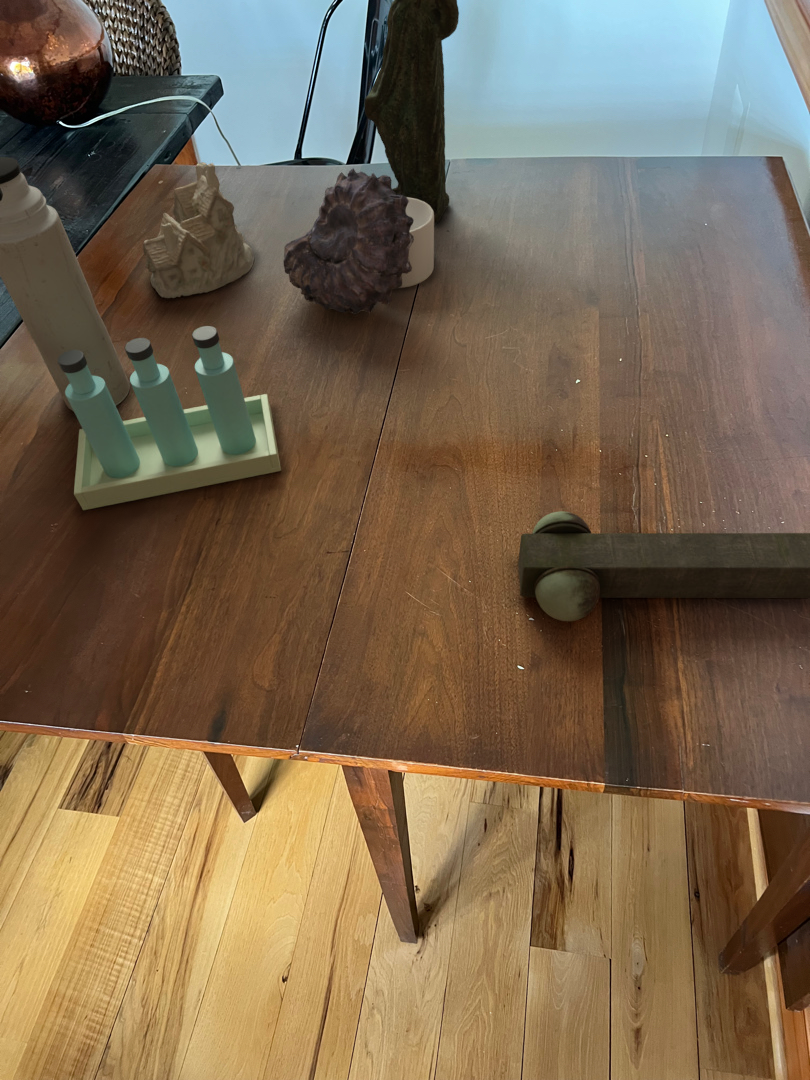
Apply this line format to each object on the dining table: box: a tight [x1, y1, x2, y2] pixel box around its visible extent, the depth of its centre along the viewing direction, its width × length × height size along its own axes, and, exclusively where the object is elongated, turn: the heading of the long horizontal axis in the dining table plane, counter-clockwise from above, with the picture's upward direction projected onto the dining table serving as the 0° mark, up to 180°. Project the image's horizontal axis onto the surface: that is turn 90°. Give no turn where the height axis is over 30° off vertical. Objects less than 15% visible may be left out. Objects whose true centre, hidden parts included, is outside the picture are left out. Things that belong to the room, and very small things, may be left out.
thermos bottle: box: [0, 156, 131, 412], centre depth 85 cm, size 8×8×28 cm
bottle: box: [191, 325, 256, 455], centre depth 82 cm, size 4×4×15 cm
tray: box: [73, 393, 282, 511], centre depth 86 cm, size 22×11×3 cm, turn 102°
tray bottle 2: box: [124, 337, 198, 467], centre depth 81 cm, size 4×4×15 cm
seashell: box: [283, 168, 414, 315], centre depth 98 cm, size 20×13×15 cm
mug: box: [398, 197, 435, 289], centre depth 108 cm, size 13×10×8 cm
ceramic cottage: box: [142, 161, 255, 299], centre depth 109 cm, size 16×16×15 cm
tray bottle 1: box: [58, 350, 140, 478], centre depth 81 cm, size 4×4×15 cm
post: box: [517, 510, 810, 622], centre depth 70 cm, size 11×6×30 cm
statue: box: [363, 0, 460, 226], centre depth 108 cm, size 15×10×35 cm, turn 83°
